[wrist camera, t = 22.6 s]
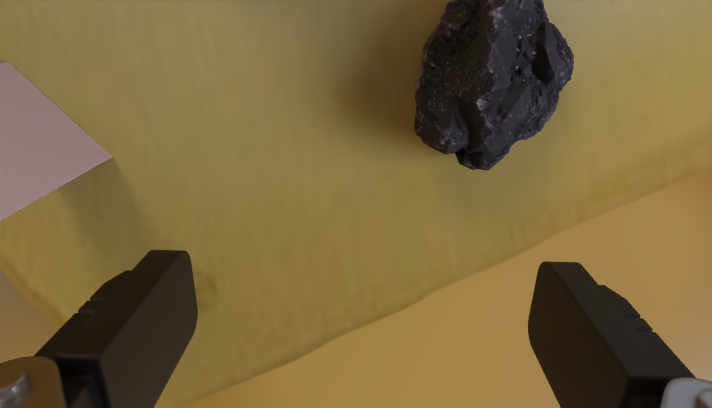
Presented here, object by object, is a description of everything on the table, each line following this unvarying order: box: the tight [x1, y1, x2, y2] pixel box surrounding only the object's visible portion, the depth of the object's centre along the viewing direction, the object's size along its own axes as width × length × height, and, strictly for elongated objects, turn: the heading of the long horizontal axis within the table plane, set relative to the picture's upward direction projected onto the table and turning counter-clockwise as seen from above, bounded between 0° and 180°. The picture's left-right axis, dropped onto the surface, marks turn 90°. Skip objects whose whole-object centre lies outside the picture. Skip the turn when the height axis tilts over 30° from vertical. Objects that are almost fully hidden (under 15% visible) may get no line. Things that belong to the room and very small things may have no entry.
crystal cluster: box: [414, 0, 574, 170], centre depth 36 cm, size 13×14×10 cm
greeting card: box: [0, 62, 112, 221], centre depth 35 cm, size 11×7×15 cm, turn 6°
